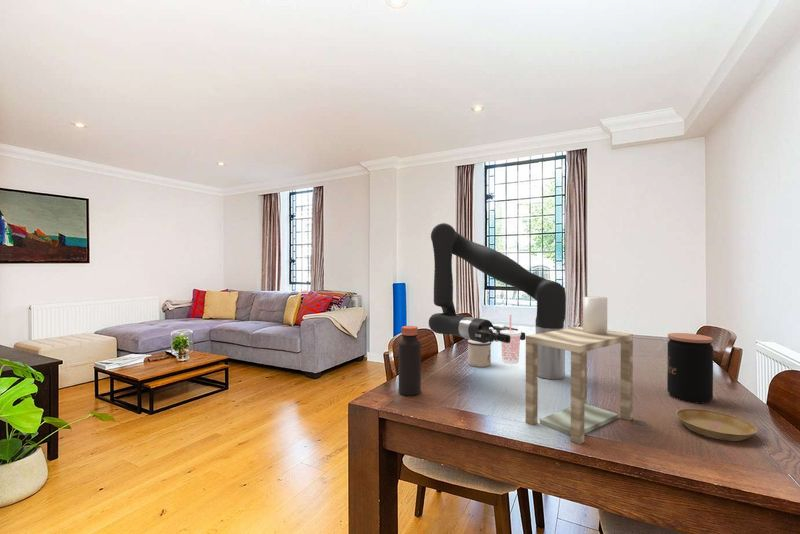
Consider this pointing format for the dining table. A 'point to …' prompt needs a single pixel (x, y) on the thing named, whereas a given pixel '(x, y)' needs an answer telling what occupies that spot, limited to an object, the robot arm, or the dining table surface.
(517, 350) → the beverage cup
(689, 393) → the coffee jar
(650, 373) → the dining table surface
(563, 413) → the stand
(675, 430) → the dining table surface
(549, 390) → the dining table surface
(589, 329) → the candle
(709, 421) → the plant saucer
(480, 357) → the beige lidded canister
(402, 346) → the bottle
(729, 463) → the dining table surface
